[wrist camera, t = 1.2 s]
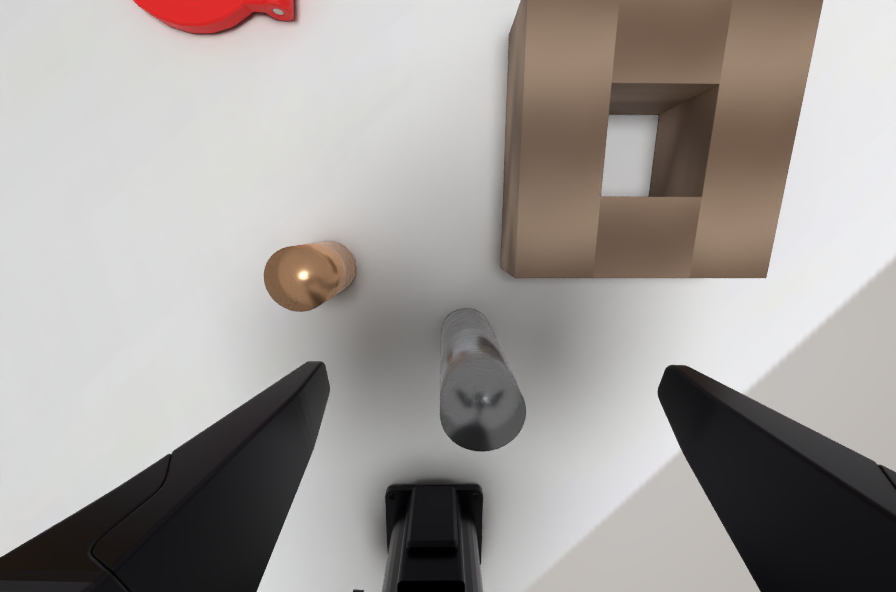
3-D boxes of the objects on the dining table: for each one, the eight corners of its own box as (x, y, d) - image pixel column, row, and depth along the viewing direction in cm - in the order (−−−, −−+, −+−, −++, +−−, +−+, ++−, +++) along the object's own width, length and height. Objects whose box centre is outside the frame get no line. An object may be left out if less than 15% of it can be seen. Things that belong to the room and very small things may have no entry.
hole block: (701, 267, 20) (766, 277, 16) (500, 267, 20) (515, 277, 16) (739, 37, 17) (827, -19, 13) (509, 34, 17) (528, -22, 13)
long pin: (489, 355, 21) (523, 451, 12) (441, 355, 21) (439, 451, 12) (490, 308, 20) (528, 373, 11) (441, 308, 20) (440, 373, 11)
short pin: (357, 292, 20) (333, 311, 15) (306, 292, 20) (267, 311, 15) (354, 241, 19) (328, 246, 15) (302, 241, 19) (260, 246, 15)
